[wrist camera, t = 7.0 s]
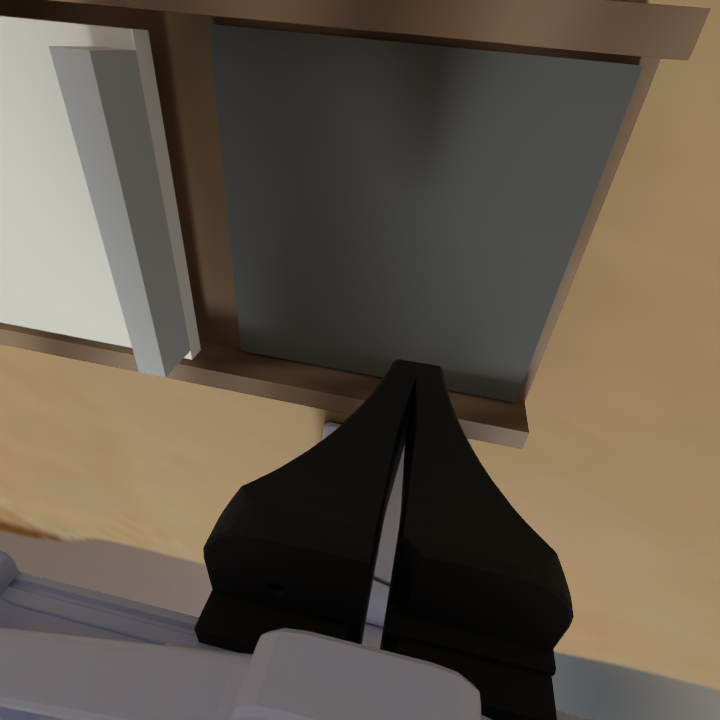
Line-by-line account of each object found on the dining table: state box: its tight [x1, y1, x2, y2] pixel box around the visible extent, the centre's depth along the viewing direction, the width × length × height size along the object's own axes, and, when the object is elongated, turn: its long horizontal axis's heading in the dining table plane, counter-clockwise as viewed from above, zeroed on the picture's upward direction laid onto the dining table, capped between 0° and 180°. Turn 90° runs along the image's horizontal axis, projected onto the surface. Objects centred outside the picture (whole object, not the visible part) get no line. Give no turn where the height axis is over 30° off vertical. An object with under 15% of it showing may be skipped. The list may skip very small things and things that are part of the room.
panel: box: [209, 24, 643, 402], centre depth 17 cm, size 13×13×1 cm
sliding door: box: [0, 15, 201, 377], centre depth 17 cm, size 12×12×3 cm
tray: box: [0, 0, 710, 449], centre depth 18 cm, size 28×15×5 cm, turn 86°
